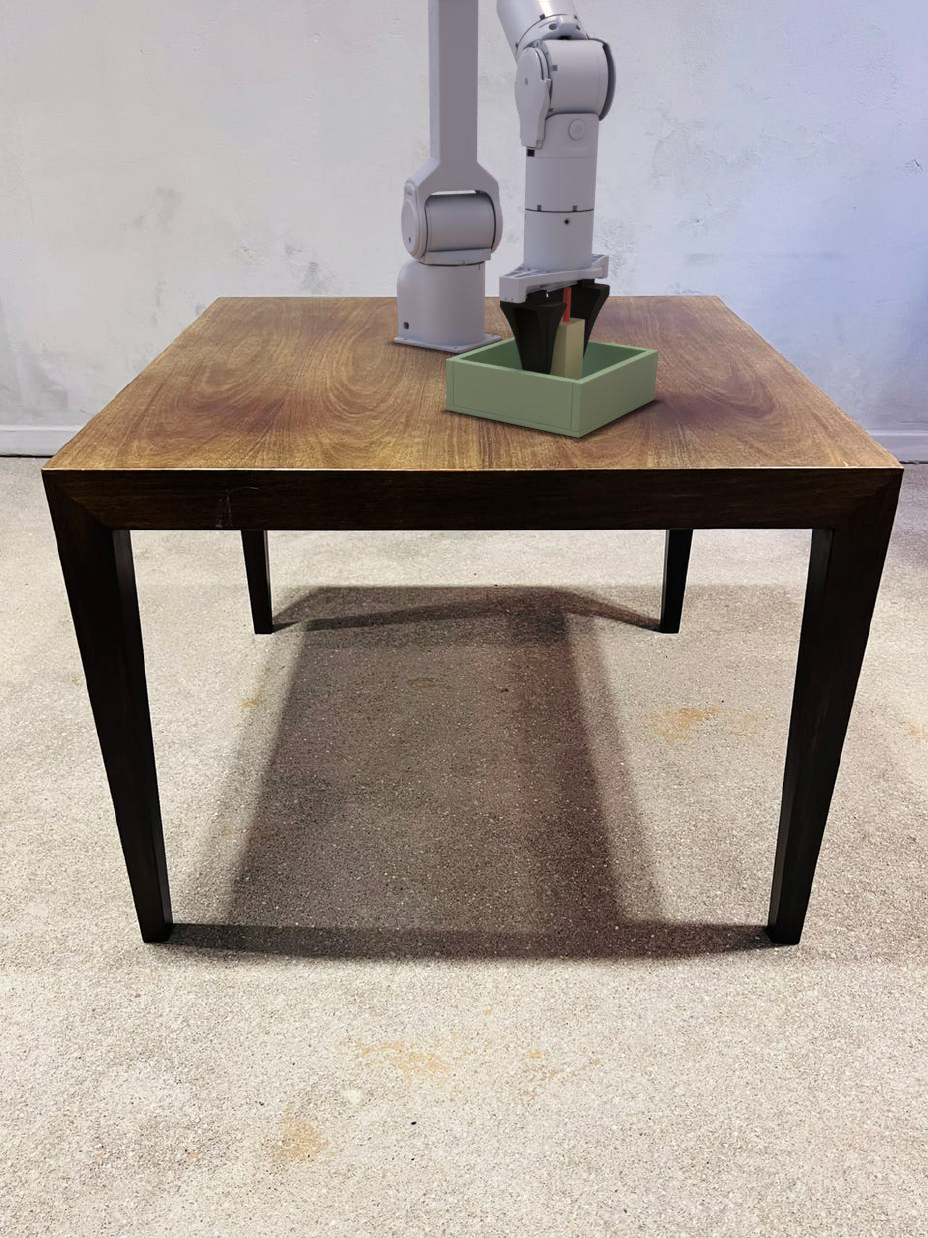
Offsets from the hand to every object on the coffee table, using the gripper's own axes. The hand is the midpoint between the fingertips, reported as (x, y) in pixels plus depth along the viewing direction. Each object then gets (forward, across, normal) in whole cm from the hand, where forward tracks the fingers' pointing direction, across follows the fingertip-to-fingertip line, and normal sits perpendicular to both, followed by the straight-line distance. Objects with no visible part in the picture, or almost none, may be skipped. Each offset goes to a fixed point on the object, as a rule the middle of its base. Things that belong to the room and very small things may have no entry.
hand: (552, 373), depth 87 cm
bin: (+3, 0, 0) cm, 3 cm away
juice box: (+2, 0, 0) cm, 2 cm away
